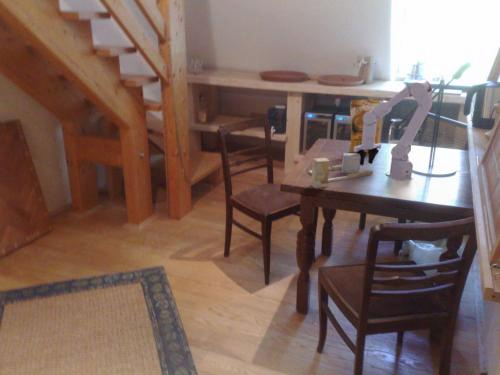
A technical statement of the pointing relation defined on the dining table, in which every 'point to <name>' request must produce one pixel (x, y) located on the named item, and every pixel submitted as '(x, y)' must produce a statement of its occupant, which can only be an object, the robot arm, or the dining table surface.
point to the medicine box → (350, 163)
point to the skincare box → (320, 172)
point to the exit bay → (333, 178)
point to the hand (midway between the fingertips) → (365, 164)
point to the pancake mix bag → (361, 121)
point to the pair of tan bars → (353, 173)
